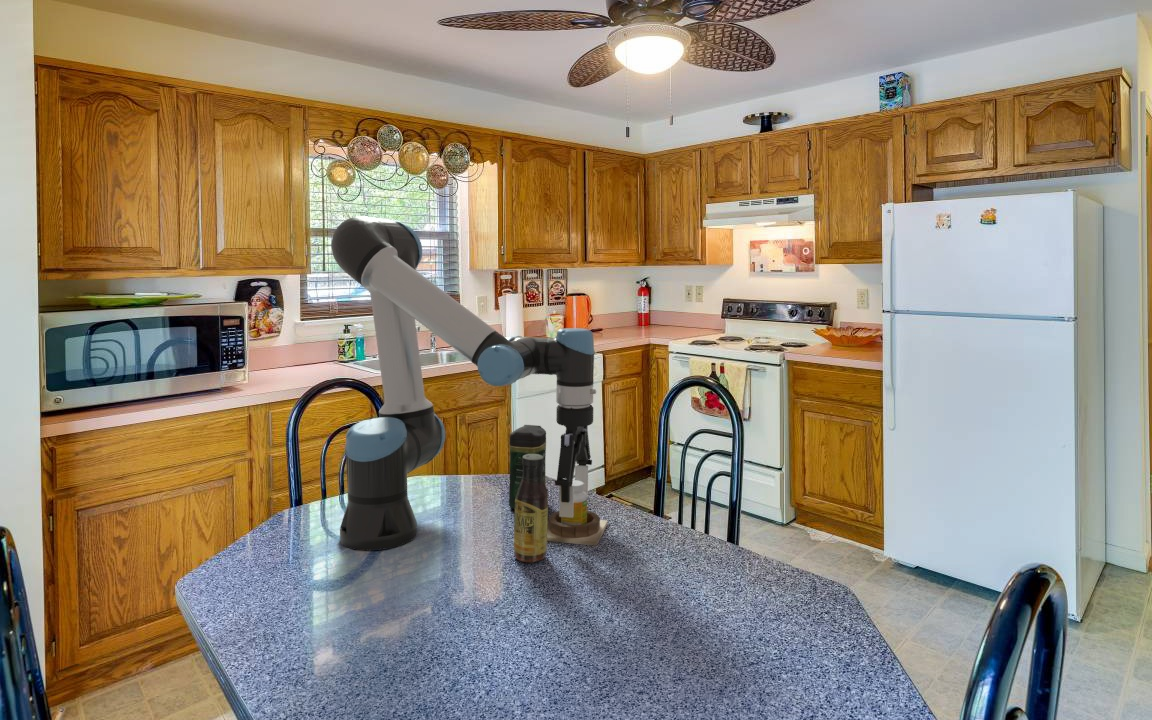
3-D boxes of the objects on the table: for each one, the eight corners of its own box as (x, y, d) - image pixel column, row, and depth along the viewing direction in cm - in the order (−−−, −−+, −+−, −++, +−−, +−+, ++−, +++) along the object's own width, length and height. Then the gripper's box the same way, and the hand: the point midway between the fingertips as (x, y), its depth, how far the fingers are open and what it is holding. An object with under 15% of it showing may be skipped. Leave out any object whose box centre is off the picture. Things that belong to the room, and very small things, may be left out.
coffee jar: (539, 514, 153) (539, 432, 151) (505, 511, 155) (504, 430, 152) (549, 500, 163) (550, 423, 160) (517, 497, 164) (517, 421, 162)
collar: (538, 539, 139) (538, 525, 138) (553, 519, 150) (553, 505, 150) (596, 545, 136) (596, 531, 136) (607, 524, 148) (607, 510, 147)
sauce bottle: (507, 557, 130) (506, 455, 128) (531, 548, 135) (531, 449, 132) (530, 567, 126) (530, 462, 123) (554, 557, 130) (555, 455, 128)
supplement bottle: (586, 533, 140) (587, 487, 139) (560, 532, 140) (560, 486, 139) (587, 523, 146) (587, 479, 144) (561, 522, 146) (561, 478, 144)
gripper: (579, 418, 127) (578, 528, 129) (604, 394, 151) (603, 488, 154) (540, 416, 128) (540, 525, 131) (571, 393, 152) (570, 485, 155)
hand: (574, 505), depth 142 cm, fingers open, 13 cm apart
